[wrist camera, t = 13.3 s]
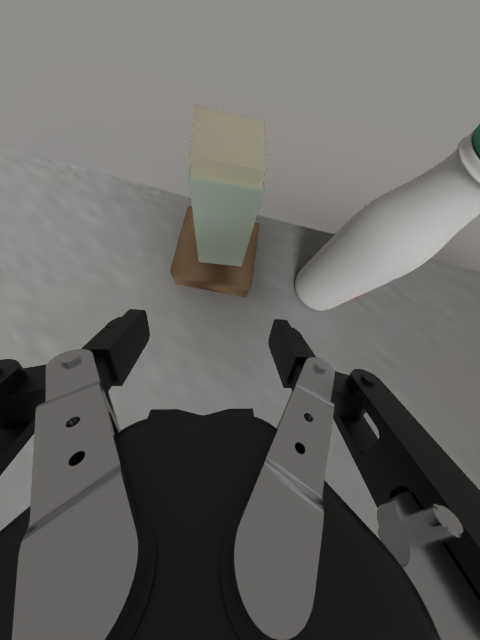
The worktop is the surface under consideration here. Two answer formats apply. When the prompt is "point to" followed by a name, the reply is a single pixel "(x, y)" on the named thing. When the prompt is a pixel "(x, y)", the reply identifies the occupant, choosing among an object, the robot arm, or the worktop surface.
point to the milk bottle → (395, 231)
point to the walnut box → (208, 274)
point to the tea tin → (225, 183)
